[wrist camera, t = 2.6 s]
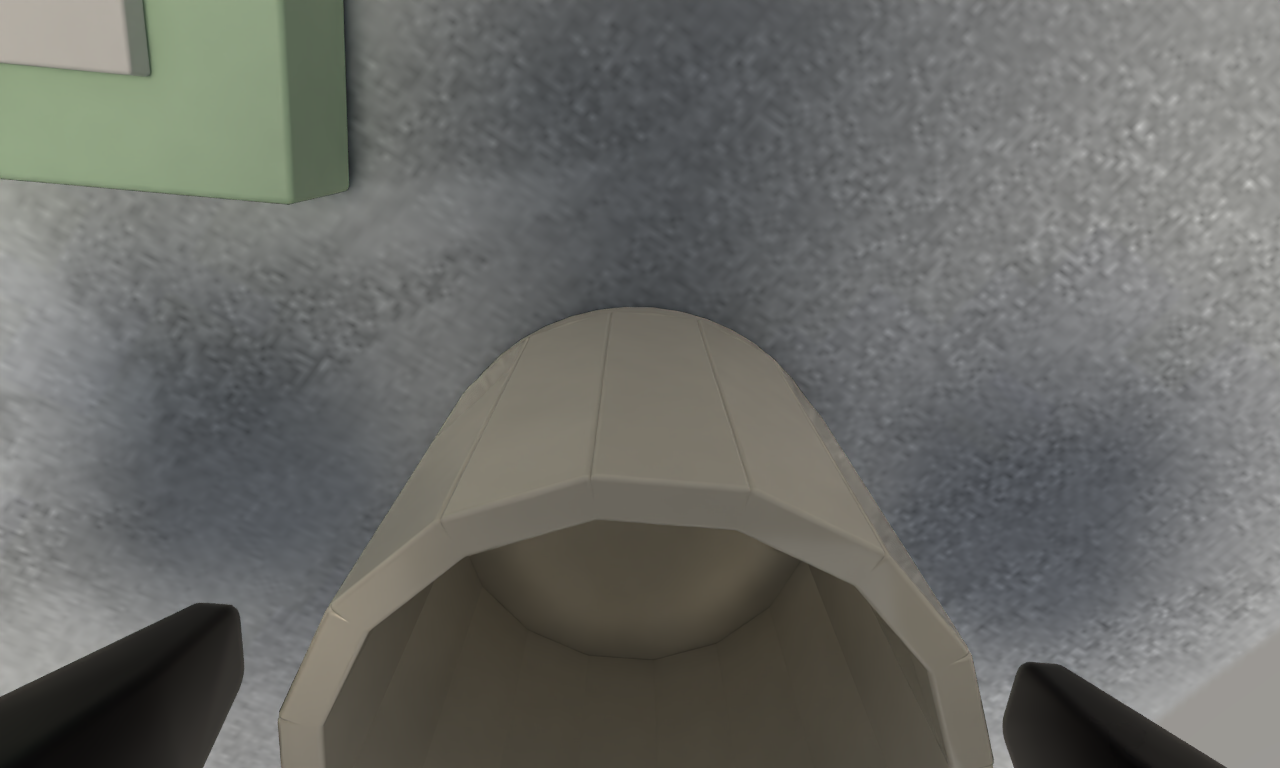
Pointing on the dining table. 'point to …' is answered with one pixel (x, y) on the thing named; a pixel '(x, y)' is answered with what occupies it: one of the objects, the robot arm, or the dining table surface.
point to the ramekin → (635, 581)
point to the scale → (176, 96)
